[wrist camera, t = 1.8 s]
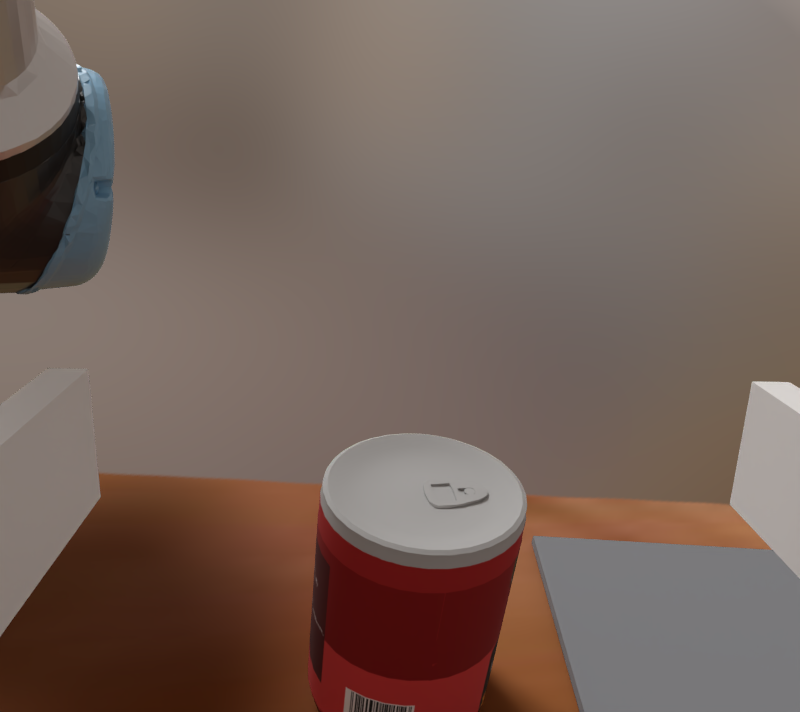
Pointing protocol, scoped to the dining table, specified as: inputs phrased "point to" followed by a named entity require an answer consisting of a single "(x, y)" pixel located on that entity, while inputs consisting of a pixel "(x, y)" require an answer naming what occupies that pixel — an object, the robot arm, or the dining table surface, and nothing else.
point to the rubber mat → (674, 625)
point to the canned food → (411, 574)
